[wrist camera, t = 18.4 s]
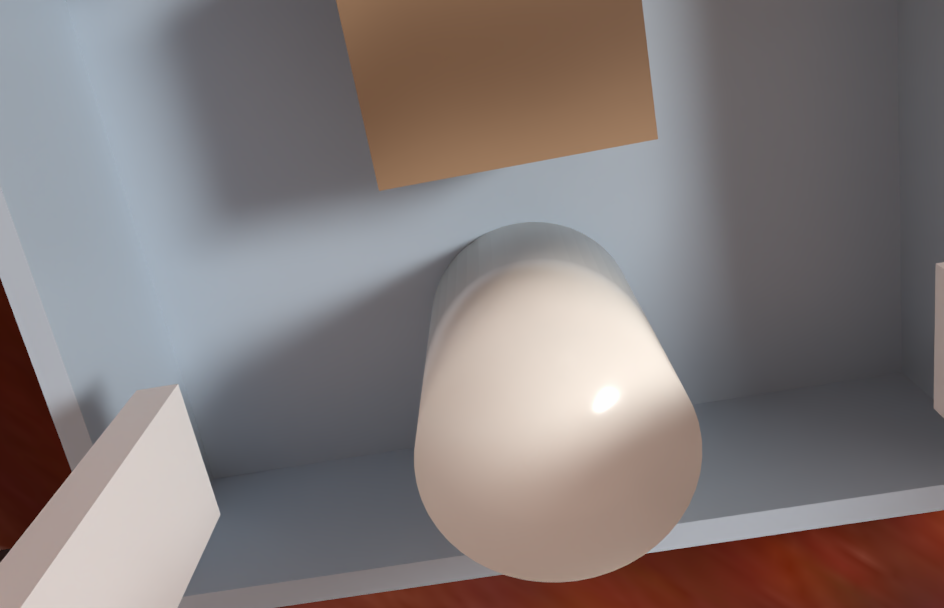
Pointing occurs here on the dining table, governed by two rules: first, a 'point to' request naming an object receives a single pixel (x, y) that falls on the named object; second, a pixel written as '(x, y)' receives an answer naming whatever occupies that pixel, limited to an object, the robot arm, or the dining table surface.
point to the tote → (444, 236)
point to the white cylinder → (550, 411)
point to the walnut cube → (495, 82)
